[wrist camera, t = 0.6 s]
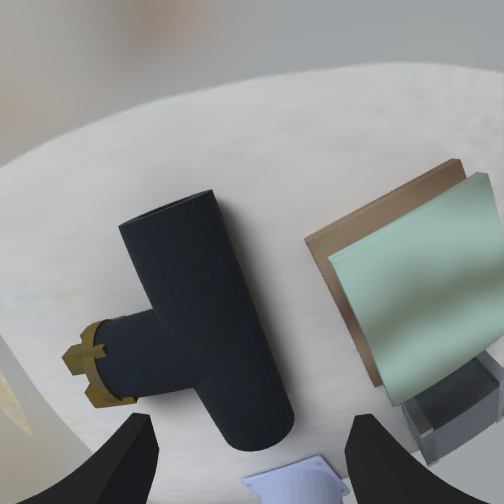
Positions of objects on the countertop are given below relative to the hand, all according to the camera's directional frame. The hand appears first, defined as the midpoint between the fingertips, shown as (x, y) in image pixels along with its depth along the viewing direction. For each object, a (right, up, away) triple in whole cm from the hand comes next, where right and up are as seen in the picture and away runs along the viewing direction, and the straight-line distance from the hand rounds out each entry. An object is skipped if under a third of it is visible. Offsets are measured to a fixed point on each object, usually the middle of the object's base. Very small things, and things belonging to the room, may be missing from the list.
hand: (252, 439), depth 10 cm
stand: (+11, +5, +9) cm, 15 cm away
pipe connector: (-5, +2, +10) cm, 12 cm away
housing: (+16, -5, +12) cm, 21 cm away
